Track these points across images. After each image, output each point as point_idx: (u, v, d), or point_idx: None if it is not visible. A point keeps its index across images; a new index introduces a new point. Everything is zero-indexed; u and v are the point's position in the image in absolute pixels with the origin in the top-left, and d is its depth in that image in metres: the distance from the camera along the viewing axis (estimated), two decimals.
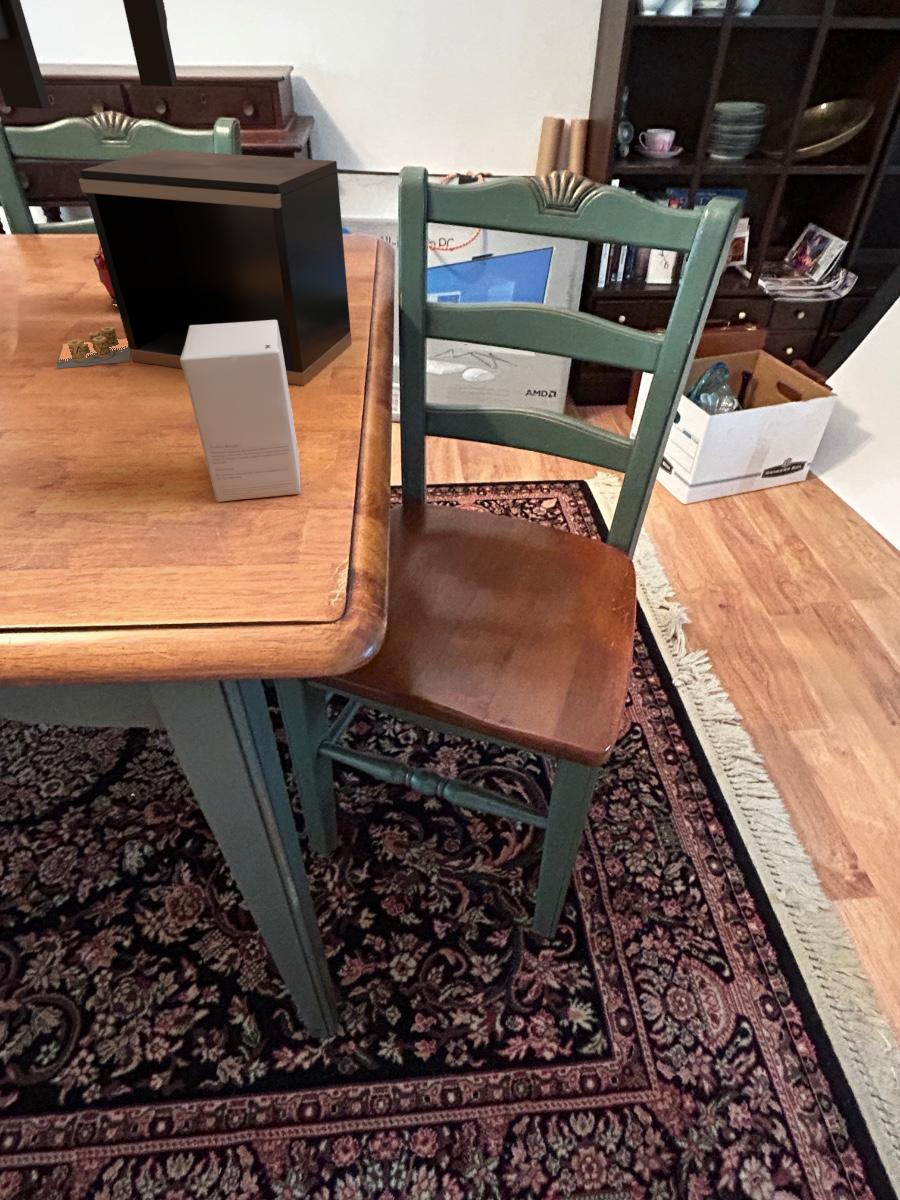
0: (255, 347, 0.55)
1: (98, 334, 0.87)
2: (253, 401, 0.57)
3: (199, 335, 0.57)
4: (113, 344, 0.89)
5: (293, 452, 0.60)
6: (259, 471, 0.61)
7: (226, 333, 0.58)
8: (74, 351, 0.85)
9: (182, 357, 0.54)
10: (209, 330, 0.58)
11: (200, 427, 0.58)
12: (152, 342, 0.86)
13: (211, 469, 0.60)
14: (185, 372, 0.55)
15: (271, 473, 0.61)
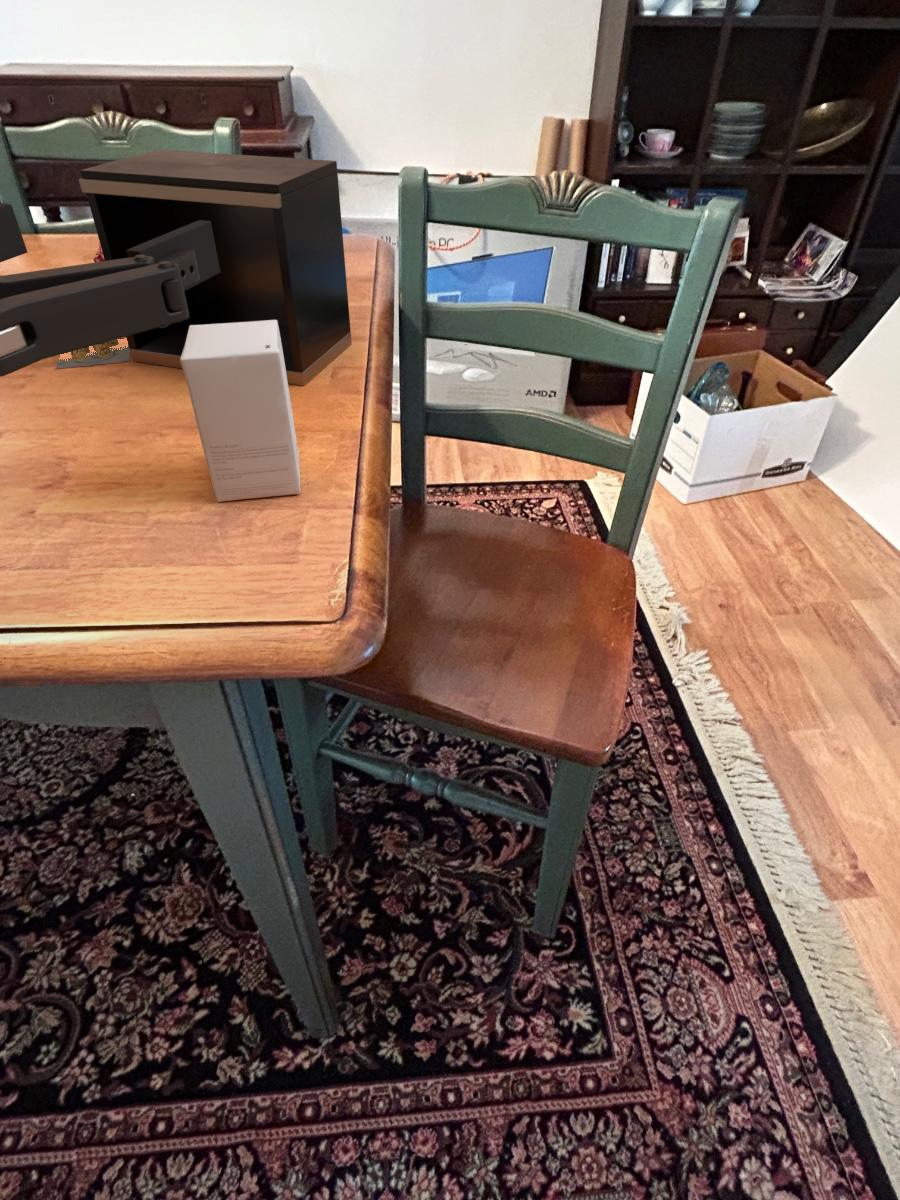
0: (255, 347, 0.55)
1: None
2: (253, 401, 0.57)
3: (199, 335, 0.57)
4: (113, 344, 0.89)
5: (293, 452, 0.60)
6: (259, 471, 0.61)
7: (226, 333, 0.58)
8: (74, 351, 0.85)
9: (182, 357, 0.54)
10: (209, 330, 0.58)
11: (200, 427, 0.58)
12: (152, 342, 0.86)
13: (211, 469, 0.60)
14: (185, 372, 0.55)
15: (271, 473, 0.61)
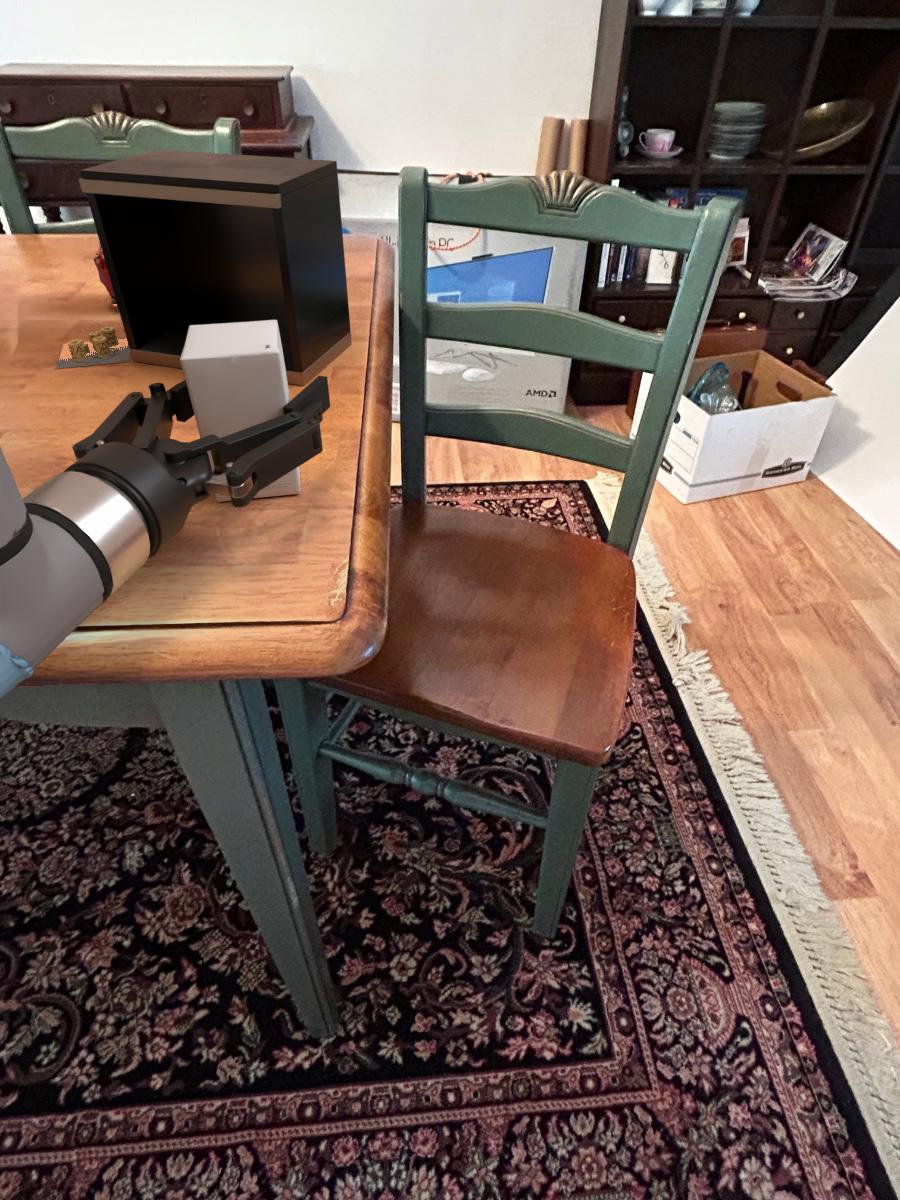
0: (255, 347, 0.55)
1: (98, 334, 0.87)
2: (253, 401, 0.57)
3: (199, 334, 0.57)
4: (113, 344, 0.89)
5: None
6: None
7: (226, 333, 0.58)
8: (74, 351, 0.85)
9: (182, 357, 0.54)
10: (209, 330, 0.58)
11: (200, 427, 0.58)
12: (152, 342, 0.86)
13: None
14: (185, 372, 0.55)
15: None
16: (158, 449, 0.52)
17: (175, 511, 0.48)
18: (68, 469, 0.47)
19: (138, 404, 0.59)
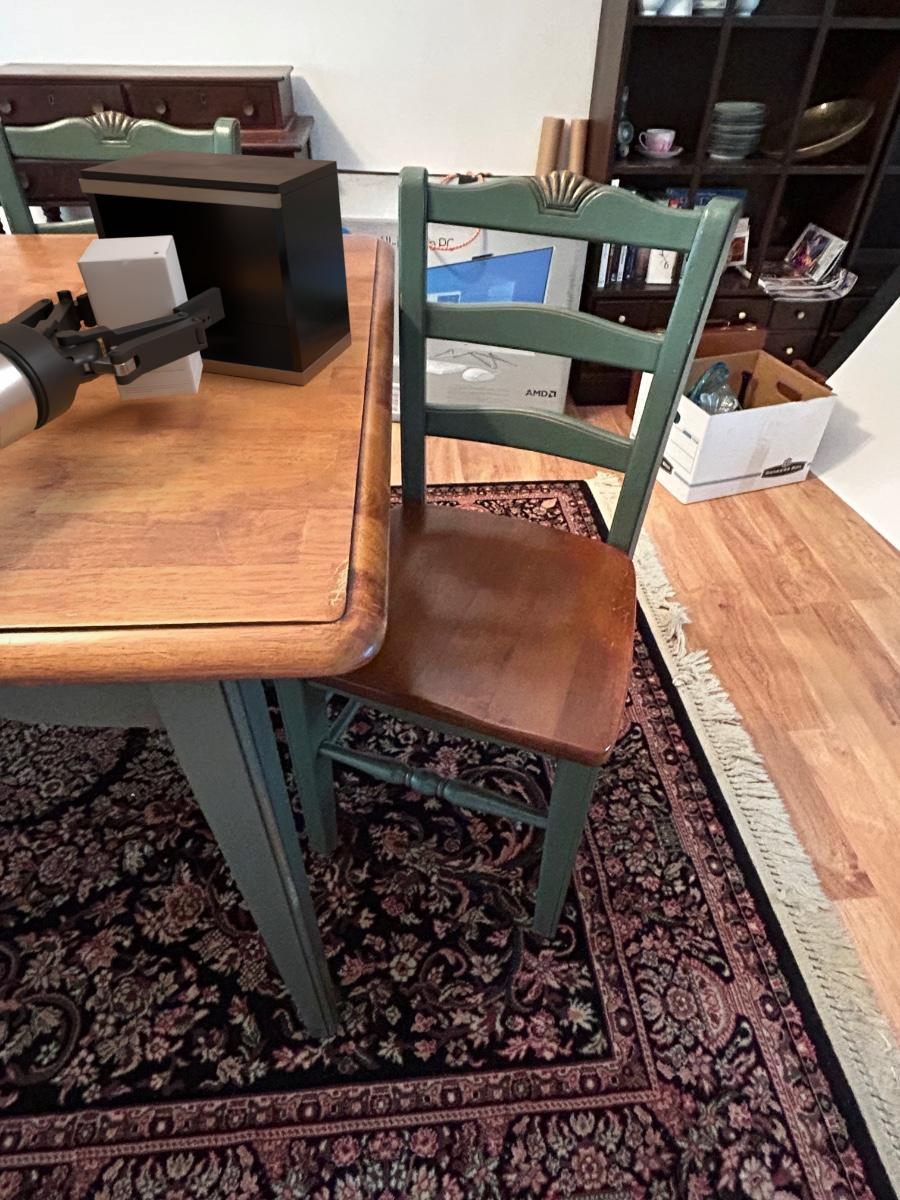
0: (145, 253, 0.63)
1: None
2: (145, 303, 0.64)
3: (99, 245, 0.65)
4: None
5: None
6: (157, 371, 0.68)
7: (123, 244, 0.65)
8: None
9: (79, 260, 0.62)
10: (109, 242, 0.66)
11: None
12: None
13: None
14: (82, 274, 0.62)
15: (168, 373, 0.69)
16: (55, 337, 0.60)
17: (62, 383, 0.56)
18: None
19: (47, 308, 0.66)
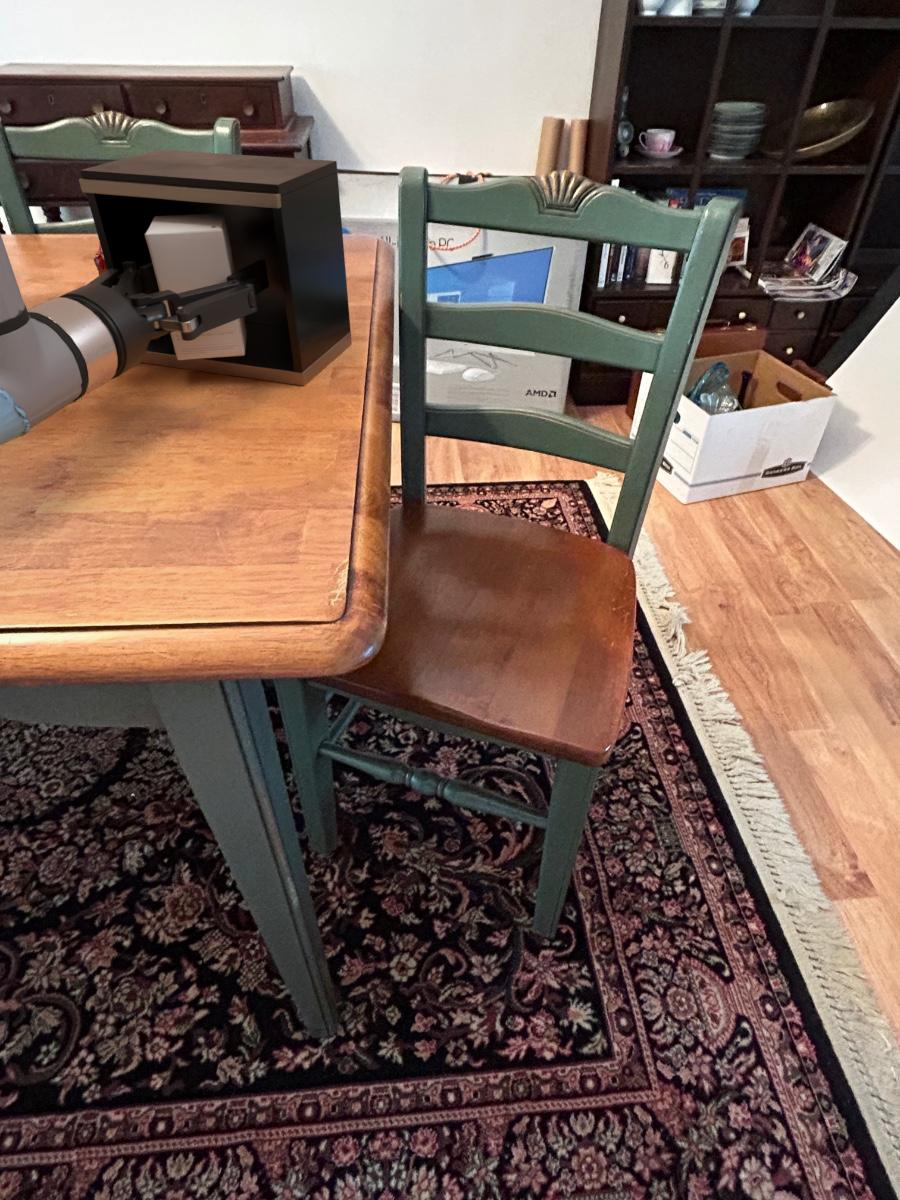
0: (203, 227, 0.71)
1: None
2: (203, 272, 0.73)
3: (161, 220, 0.73)
4: None
5: None
6: (210, 334, 0.77)
7: (182, 220, 0.73)
8: None
9: (146, 233, 0.70)
10: (169, 218, 0.74)
11: None
12: (152, 342, 0.86)
13: None
14: (149, 245, 0.71)
15: (220, 336, 0.77)
16: (127, 300, 0.68)
17: (137, 337, 0.64)
18: None
19: (114, 277, 0.75)
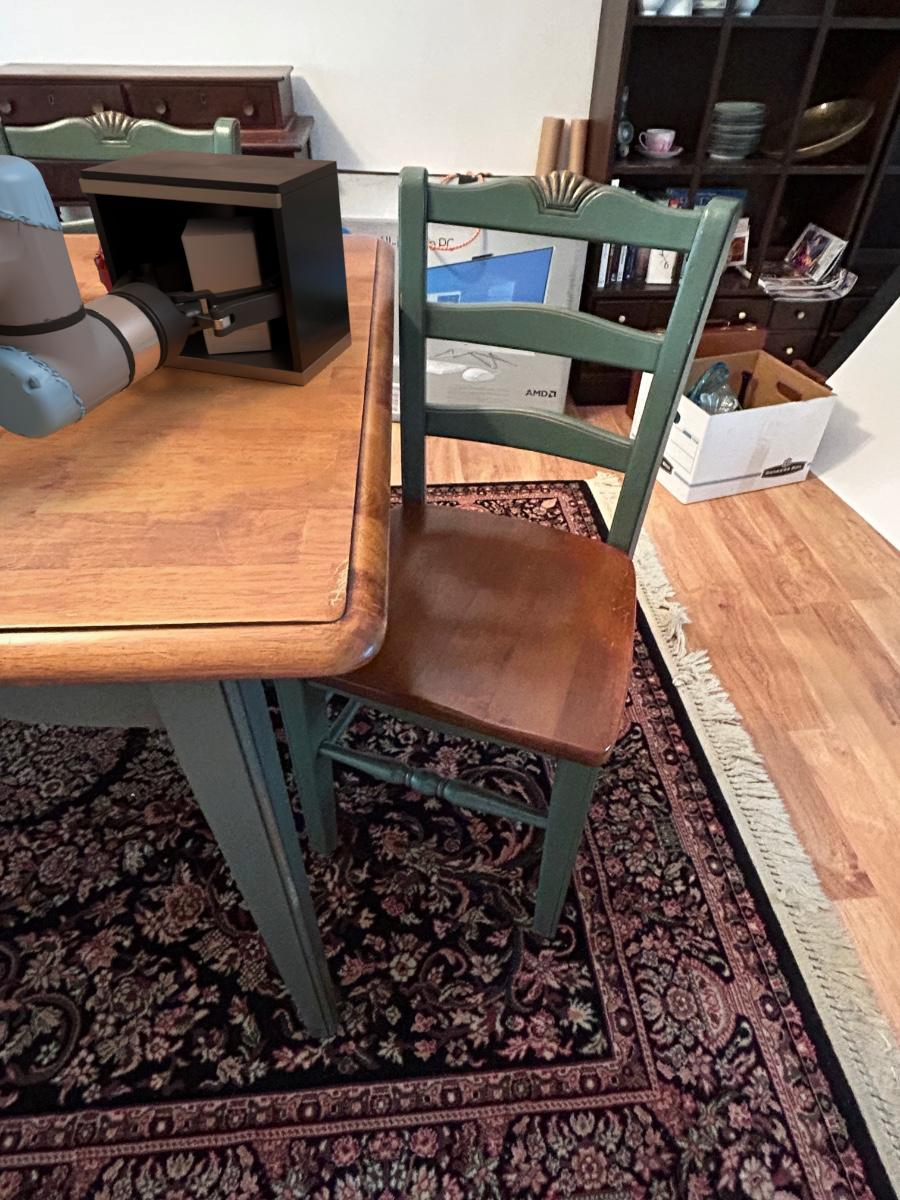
0: (235, 229, 0.76)
1: None
2: (234, 271, 0.78)
3: (195, 223, 0.78)
4: None
5: None
6: (240, 329, 0.82)
7: (215, 222, 0.79)
8: None
9: (183, 235, 0.75)
10: (202, 221, 0.79)
11: None
12: None
13: None
14: (185, 246, 0.76)
15: (249, 331, 0.82)
16: None
17: (177, 332, 0.69)
18: None
19: (134, 277, 0.79)
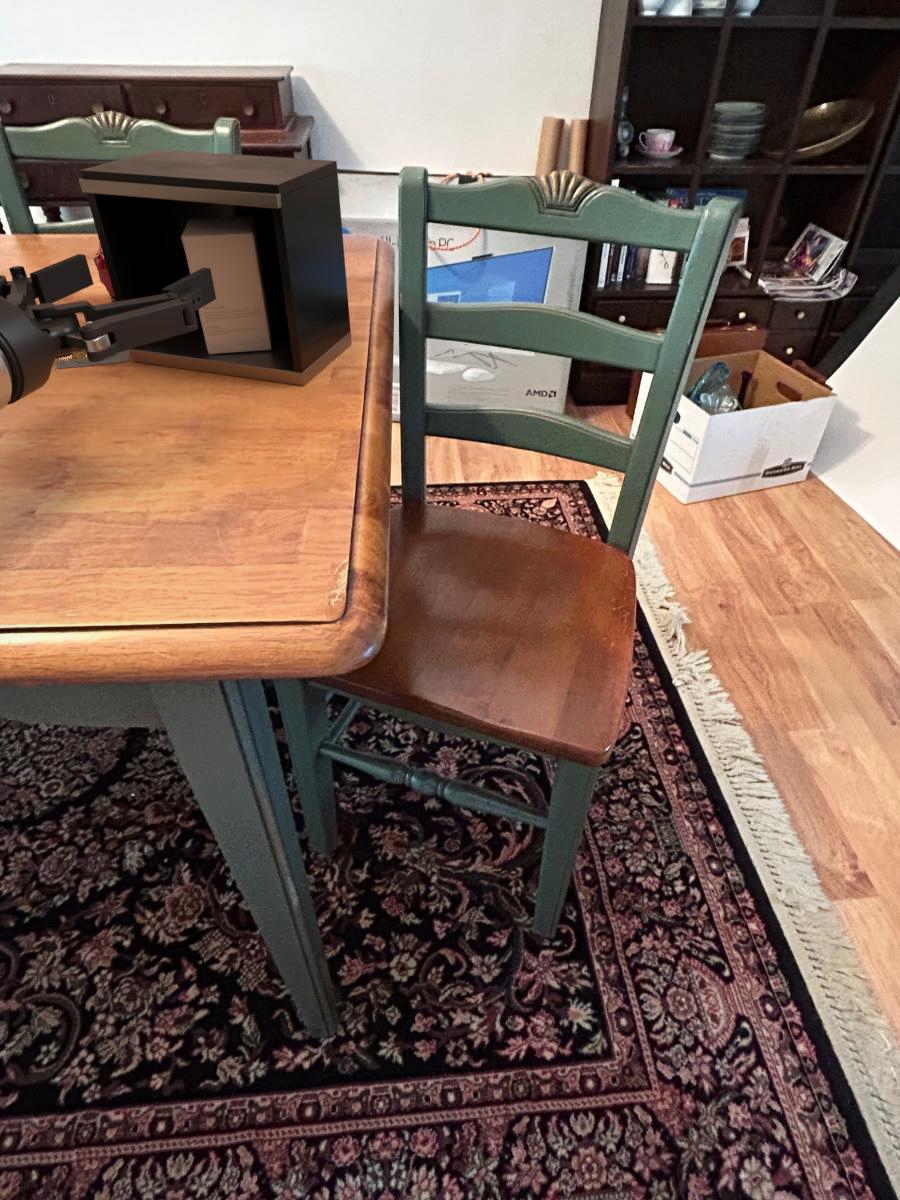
0: (235, 229, 0.76)
1: None
2: (234, 271, 0.78)
3: (195, 223, 0.78)
4: None
5: (265, 314, 0.81)
6: (240, 329, 0.82)
7: (215, 222, 0.79)
8: None
9: (183, 235, 0.75)
10: (202, 221, 0.79)
11: None
12: None
13: (204, 326, 0.81)
14: (185, 246, 0.76)
15: (249, 331, 0.82)
16: (31, 310, 0.59)
17: (37, 356, 0.55)
18: None
19: (2, 284, 0.65)
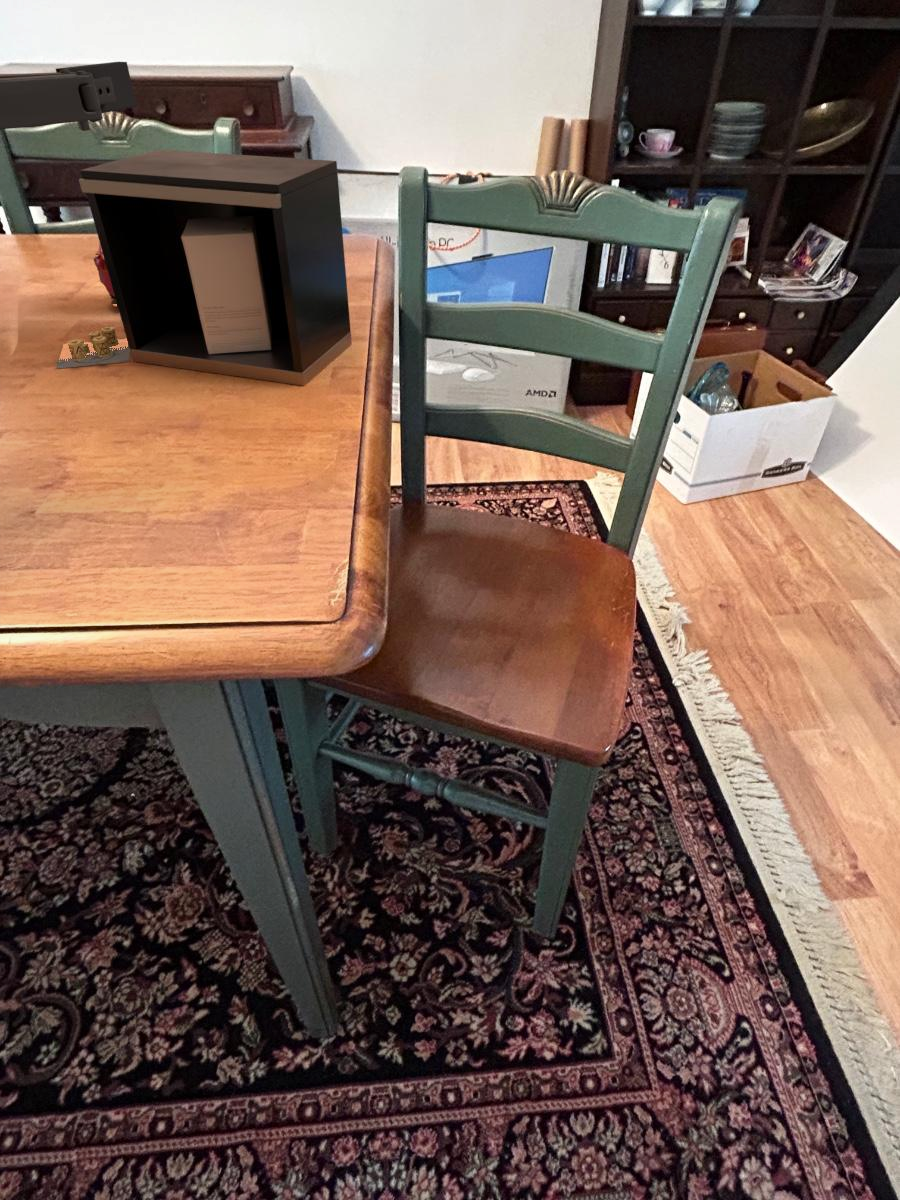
0: (235, 229, 0.76)
1: (98, 334, 0.87)
2: (234, 271, 0.78)
3: (195, 223, 0.78)
4: (113, 344, 0.89)
5: (265, 314, 0.81)
6: (240, 329, 0.82)
7: (215, 222, 0.79)
8: (74, 351, 0.85)
9: (183, 235, 0.75)
10: (202, 221, 0.79)
11: (196, 291, 0.79)
12: (152, 342, 0.86)
13: (204, 326, 0.81)
14: (185, 246, 0.76)
15: (249, 331, 0.82)
16: None
17: None
18: None
19: None
